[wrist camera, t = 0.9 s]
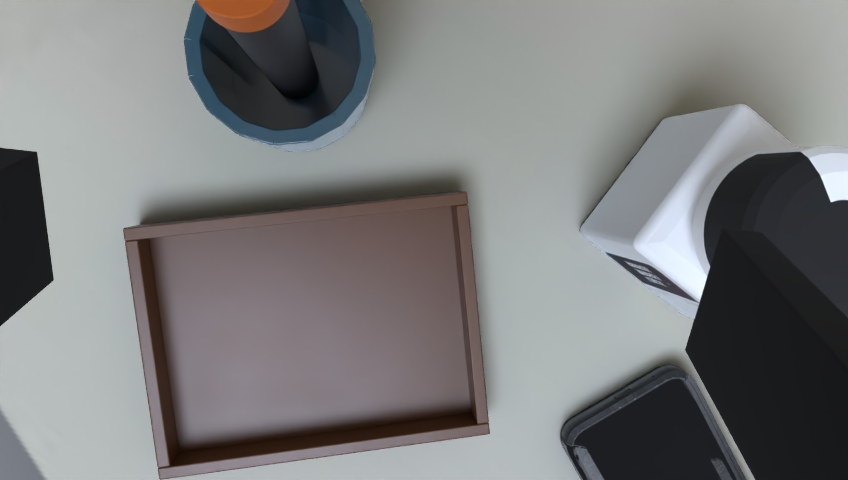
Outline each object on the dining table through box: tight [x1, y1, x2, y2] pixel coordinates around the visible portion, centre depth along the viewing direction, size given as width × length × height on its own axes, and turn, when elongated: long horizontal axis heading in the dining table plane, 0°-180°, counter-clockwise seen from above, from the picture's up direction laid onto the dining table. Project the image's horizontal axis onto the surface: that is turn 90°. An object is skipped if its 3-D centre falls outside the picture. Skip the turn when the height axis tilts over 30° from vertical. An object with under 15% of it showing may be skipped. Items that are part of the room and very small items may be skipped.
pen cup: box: [184, 0, 376, 152], centre depth 31 cm, size 7×7×8 cm
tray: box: [123, 191, 490, 480], centre depth 35 cm, size 12×16×2 cm
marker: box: [196, 0, 319, 99], centre depth 25 cm, size 2×2×18 cm
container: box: [580, 104, 848, 319], centre depth 31 cm, size 8×8×13 cm
